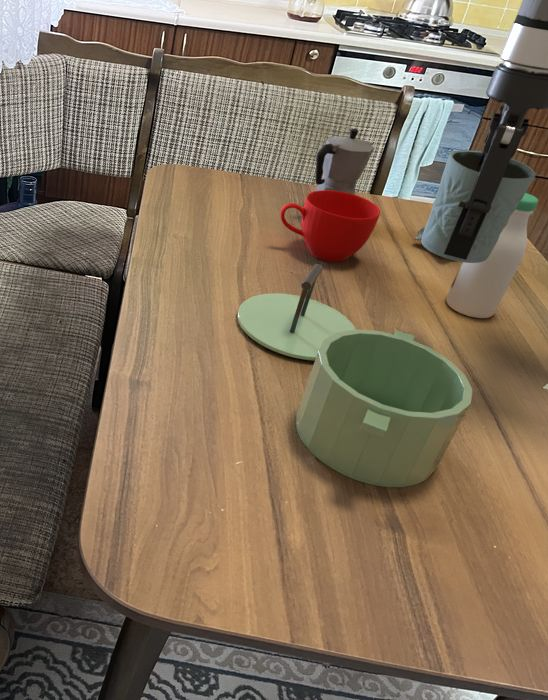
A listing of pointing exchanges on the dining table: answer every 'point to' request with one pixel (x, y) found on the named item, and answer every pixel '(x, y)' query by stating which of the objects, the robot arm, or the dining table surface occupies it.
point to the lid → (292, 320)
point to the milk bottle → (492, 268)
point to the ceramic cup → (334, 223)
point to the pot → (381, 407)
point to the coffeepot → (342, 162)
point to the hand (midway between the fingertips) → (458, 242)
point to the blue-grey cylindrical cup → (458, 188)
